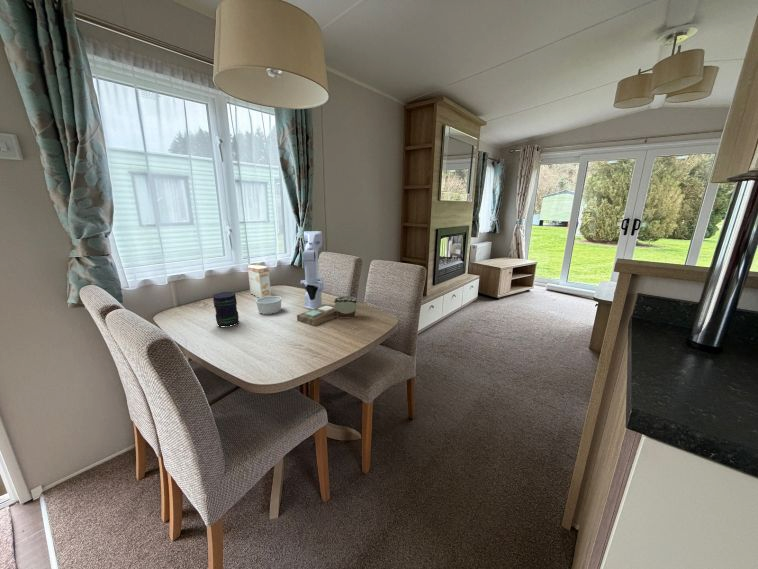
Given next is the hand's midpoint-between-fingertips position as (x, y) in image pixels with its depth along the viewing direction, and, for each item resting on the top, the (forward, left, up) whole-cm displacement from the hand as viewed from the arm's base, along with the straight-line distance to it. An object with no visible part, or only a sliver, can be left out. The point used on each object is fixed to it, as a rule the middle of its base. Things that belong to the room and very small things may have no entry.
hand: (312, 299), depth 151 cm
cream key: (+4, +6, -8) cm, 11 cm away
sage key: (+4, -3, -8) cm, 10 cm away
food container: (+14, +11, -10) cm, 20 cm away
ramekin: (-26, -8, -10) cm, 29 cm away
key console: (+4, +1, -9) cm, 10 cm away
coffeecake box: (-57, +7, -10) cm, 58 cm away
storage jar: (-27, -31, -10) cm, 42 cm away
